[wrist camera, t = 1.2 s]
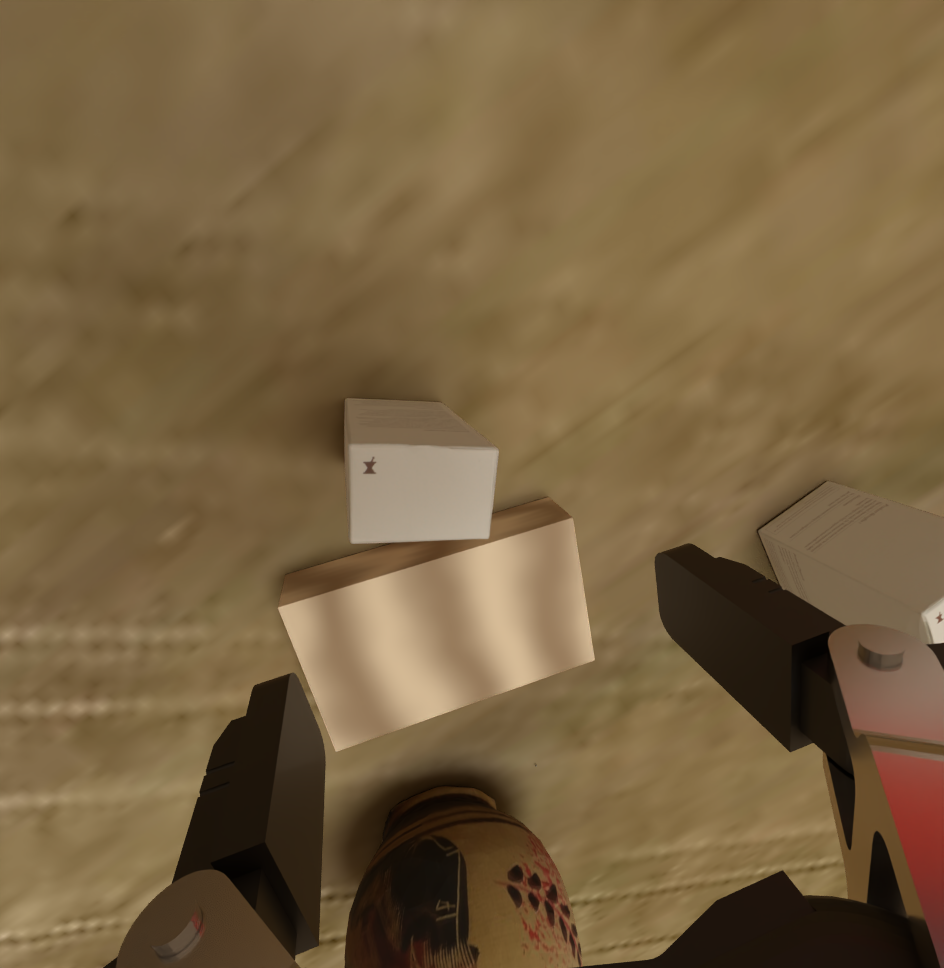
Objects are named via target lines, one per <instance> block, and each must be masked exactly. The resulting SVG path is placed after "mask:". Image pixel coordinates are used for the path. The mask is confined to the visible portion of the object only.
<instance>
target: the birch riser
mask: <svg viewBox="0 0 944 968" xmlns="http://www.w3.org/2000/svg"><path fill="white" fill-rule="evenodd" d="M278 609H279V612H280V614H281V617H282V619H283V622H284V624H285V627H286V629H287V632H288V634H289V637H290V639H291V642H292V644H293V646H294V649H295V651H296V654H297V656H298V659H299V661H300V664H301V666H302V669H303V671H304V674H305V676H306V679H307V681H308V684H309V686H310V689H311V691H312V693H313V696H314V698H315V701H316V703H317V706H318V708H319V711H320V713H321V716H322V718H323V721H324V723H325V726H326V728H327V731H328V733H329V735H330V738H331V740H332V743H333V745H334V748H335V750H336V752H337V751H340V750H342V749H345V748H348V747H351V746H354V745H356V744H359V743H362V742H365V741H368V740H371V739H373V738H376V737H379V736H382V735H385V734H388V733H390V732H393V731H396V730H399V729H402V728H404V727H407V726H410V725H413V724H416V723H419V722H421V721H424V720H427V719H430V718H433V717H436V716H438V715H441V714H444V713H447V712H450V711H452V710H455V709H458V708H461V707H464V706H467V705H469V704H472V703H475V702H478V701H481V700H484V699H486V698H489V697H492V696H495V695H498V694H500V693H503V692H506V691H509V690H512V689H515V688H517V687H520V686H523V685H526V684H529V683H532V682H534V681H537V680H540V679H543V678H546V677H548V676H551V675H554V674H557V673H560V672H563V671H565V670H568V669H571V668H574V667H577V666H580V665H582V664H585V663H588V662H591V661H594V660H595V659H594V652H593V646H592V639H591V633H590V626H589V620H588V613H587V607H586V600H585V594H584V587H583V580H582V574H581V567H580V561H579V554H578V548H577V541H576V535H575V528H574V522H573V517H571V516H570V515H569V514H568V513H567V512H566V511H564V510H563V509H562V508H561V507H560V506H559V505H557V504H556V503H555V502H554V501H553V500H552V499H550V498H549V497H547V498H543V499H540V500H537V501H533V502H530V503H526V504H523V505H520V506H516V507H513V508H509V509H506V510H503V511H499V512H496V513H493V514H492V518H491V527H490V537H489V538H488V539H467V540H440V541H419V542H395V543H391V544H388V545H384V546H381V547H378V548H374V549H371V550H368V551H364V552H361V553H357V554H354V555H351V556H347V557H344V558H341V559H337V560H334V561H330V562H327V563H324V564H320V565H317V566H313V567H310V568H307V569H303V570H300V571H297V572H293V573H290V574H286V575H285V579H284V583H283V587H282V592H281V596H280V600H279V605H278Z"/></svg>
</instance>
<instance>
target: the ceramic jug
mask: <svg viewBox="0 0 944 968" xmlns="http://www.w3.org/2000/svg"><path fill="white" fill-rule="evenodd" d="M535 766H536V767H537V765H535ZM574 967H583V964H582V956H581V948H580V942H579V938H578V934H577V930H576V925H575V920H574V915H573V911H572V908H571V905H570V902H569V898H568V895H567V892H566V889H565V886H564V883H563V880H562V878H561V876H560V874H559V872H558V870H557V868H556V866H555V864H554V862H553V861H552V859H551V857H550V856H549V854H548V853H547V851H546V849H545V848H544V846H543V844H542V842H541V841H540V840H539V839H538V838H537V837H536V836H535V835H534V834H533V833H532V832H531V831H530V830H529V829H528V828H527V827H526V826H525V825H524V824H523V823H521V822H520V821H518V820H517V819H515V818H513V817H512V816H510V815H507V814H505V813H503V812H500V811H498V810H497V808H496V804H495V800H494V799H492V798H491V797H489V796H487V795H486V794H484V793H483V792H482V791H480V790H477V789H474V788H465V787H448V786H443V787H437V788H434V789H431V790H428V791H426V792H423V793H421V794H418V795H416V796H413V797H411V798H410V799H408V800H406V801H403V802H401V803H399V804H398V805H397V806H395V807H394V808H393V809H392V810H391V811H390V814H389V817H388V819H387V821H386V824H385V828H384V832H383V842H382V844H381V845H380V847H379V849H378V851H377V853H376V854H375V856H374V858H373V859H372V861H371V863H370V865H369V866H368V868H367V870H366V872H365V874H364V876H363V879H362V881H361V883H360V885H359V888H358V891H357V894H356V897H355V899H354V902H353V905H352V908H351V911H350V914H349V921H348V927H347V935H346V947H345V968H574Z"/></svg>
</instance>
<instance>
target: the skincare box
mask: <svg viewBox="0 0 944 968" xmlns="http://www.w3.org/2000/svg"><path fill="white" fill-rule="evenodd" d="M498 455H499V449H498V448H497V447H496V446H495V445H493V444H492V443H491V442H490V441H488V440H487V439H486V438H485V437H483V436H482V435H481V434H480V433H478V432H477V431H476V430H475V429H473V428H472V427H471V426H470V425H469V424H467V423H466V422H465V421H464V420H463V419H461V418H460V417H459V416H458V415H457V414H455V413H454V412H453V411H452V410H451V409H449V408H448V407H447V406H446V405H445V404H443V403H442V402H427V401H404V400H382V399H357V398H346V399H345V411H344V459H345V482H346V499H347V517H348V537H349V541H350V542H351V543H352V544H359V543H393V542H419V541H440V540H467V539H488V538H489V537H490V527H491V518H492V509H493V500H494V491H495V483H496V474H497V464H498Z"/></svg>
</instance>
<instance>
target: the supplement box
mask: <svg viewBox="0 0 944 968" xmlns="http://www.w3.org/2000/svg"><path fill="white" fill-rule="evenodd" d="M758 533H759V536H760V538H761V541H762V543H763V545H764V548H765V550H766V553H767V555H768V558H769V560H770V562H771V565H772V567H773V570H774V572H775V575H776V577H777V579H778V582H779V584H780V586H781V587H782V589H783V590H785V589H786V590H788V591H790V592H791V593H793V594H795V595H796V596H798V597H800V598H801V599H803V600H805V601H806V602H808V603H810V604H811V605H813V606H815V607H816V608H818V609H819V610H821V611H823V612H824V613H826V614H828V615H829V616H831V617H833V618H834V619H836V620H838V621H839V622H841V623H843V624H844V625H846V626H848V625H853V624H872V625H880V626H885V627H889V628H893V629H897V630H899V631H902V632H905V633H907V634H909V635H911V636H913V637H915V638H917V639H919V640H920V641H922V642H923V643H924V644H935V643H944V517H941V516H938V515H935V514H932V513H929V512H926V511H922V510H919V509H916V508H913V507H910V506H907V505H904V504H900V503H897V502H894V501H891V500H888V499H885V498H882V497H878V496H875V495H872V494H869V493H866V492H863V491H859V490H856V489H853V488H850V487H846V486H843V485H840V484H837V483H834V482H830V481H827V482H825V483H824V484H822V485H821V486H820V487H818V488H817V489H816V490H814V491H813V492H812V493H810V494H809V495H807V496H806V497H805V498H803V499H802V500H800V501H799V502H798V503H796V504H795V505H793V506H792V507H791V508H789V509H788V510H786V511H785V512H784V513H782V514H781V515H779V516H778V517H777V518H775V519H774V520H772V521H771V522H769V523H768V524H767V525H765V526H764V527H762V528H761V529H760V530H759V531H758Z"/></svg>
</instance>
